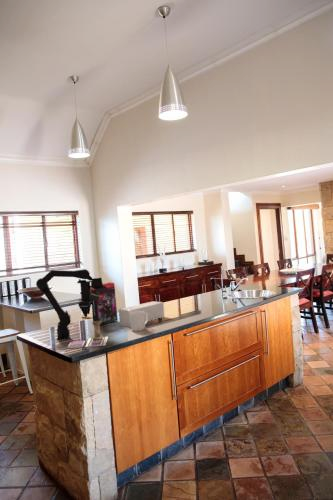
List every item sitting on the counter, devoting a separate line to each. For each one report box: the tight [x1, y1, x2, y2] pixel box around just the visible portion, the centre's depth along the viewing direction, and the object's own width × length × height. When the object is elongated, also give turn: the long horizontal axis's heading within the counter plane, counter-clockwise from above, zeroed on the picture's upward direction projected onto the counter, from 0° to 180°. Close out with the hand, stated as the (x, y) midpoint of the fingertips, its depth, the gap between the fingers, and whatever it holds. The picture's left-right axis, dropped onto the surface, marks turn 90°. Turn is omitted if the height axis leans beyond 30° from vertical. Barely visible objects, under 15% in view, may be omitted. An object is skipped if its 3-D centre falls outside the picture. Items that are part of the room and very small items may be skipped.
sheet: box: [84, 336, 109, 348], centre depth 210 cm, size 11×18×1 cm, turn 4°
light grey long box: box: [118, 300, 165, 328], centre depth 257 cm, size 32×11×11 cm, turn 136°
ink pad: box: [67, 340, 86, 349], centre depth 205 cm, size 8×9×2 cm
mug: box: [130, 311, 149, 333], centre depth 233 cm, size 12×9×11 cm
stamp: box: [91, 320, 103, 341], centre depth 215 cm, size 5×5×10 cm
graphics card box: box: [90, 281, 119, 326], centre depth 257 cm, size 17×7×27 cm, turn 137°
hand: (87, 315), depth 227 cm, fingers open, 9 cm apart
